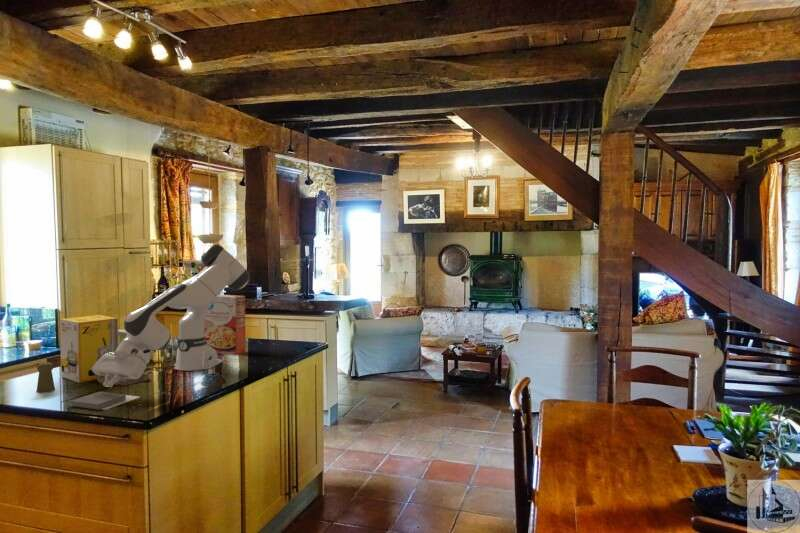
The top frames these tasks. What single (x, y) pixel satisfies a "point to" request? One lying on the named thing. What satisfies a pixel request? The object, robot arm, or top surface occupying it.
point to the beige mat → (128, 398)
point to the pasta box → (226, 324)
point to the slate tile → (98, 400)
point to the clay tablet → (125, 379)
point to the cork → (45, 378)
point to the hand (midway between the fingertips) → (106, 386)
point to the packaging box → (86, 344)
